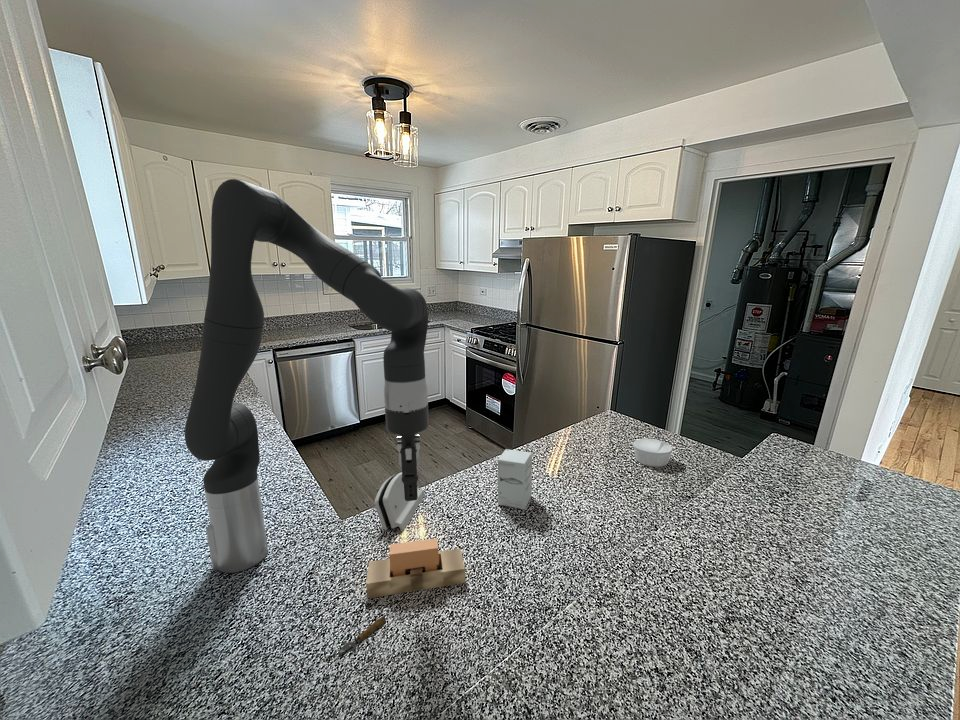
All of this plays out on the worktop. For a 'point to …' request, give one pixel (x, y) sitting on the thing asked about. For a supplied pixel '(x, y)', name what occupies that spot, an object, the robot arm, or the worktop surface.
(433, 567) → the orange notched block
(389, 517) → the grey piece
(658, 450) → the ramekin
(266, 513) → the worktop surface
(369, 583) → the rail
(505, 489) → the supplement box
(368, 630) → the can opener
